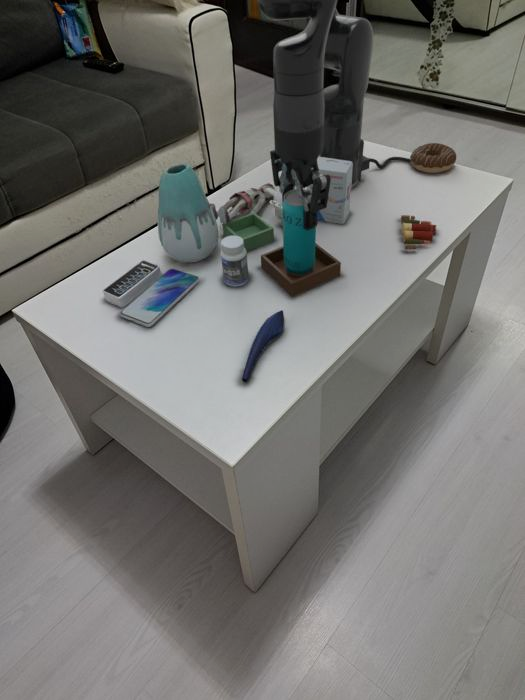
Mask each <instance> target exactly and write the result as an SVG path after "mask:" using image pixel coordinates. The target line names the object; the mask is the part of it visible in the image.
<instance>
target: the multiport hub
mask: <svg viewBox="0 0 525 700" xmlns="http://www.w3.org/2000/svg"><path fill="white" fill-rule="evenodd" d="M162 275H163V274H162V271H161V268H160V266H159V265H158V264H155V263H153V262H151V261H147V260H141V261H140V262H138V263H137V264H136V265H134V266H133V267H132V268H130V269H129V270H128V271H126V272H125V273H124V274H122V275H121V276H120V277H118V278H117V279H116V280H114V281H113V282H112V283H110V284H109V285H108V286H107V287H105V288H104V289H103V290H102V293H103V295H104V298H105V301H106V302H108V303H109V304H112V305H114V306H116V307H118V308H121V309H122V308H123V309H124V308H125V307H127V306H128V305H129V304H130V303H131V302H132V301H133V300H135V299H136V298H137V297H138V296H139V295H140V294H142V293H143V292H144V291H145V290H146V289H147V288H148V287H150V286H151V285H152V284H153V283H154V282H155V281H156V280H158V279H159V278H160V277H161V276H162Z"/></svg>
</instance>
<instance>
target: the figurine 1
mask: <svg viewBox="0 0 525 700" xmlns="http://www.w3.org/2000/svg"><path fill="white" fill-rule="evenodd" d="M275 187H276V186H275V185H274V184H272V183H270V182H268V183H265V184H263V185H261V186H259V188H256V187H254V188H253V187H249V188H248V190H240V191H238V192H234V194H232V195H231V196H230V197H229V200H228V201H227V202H225V204H223V205H221V206H220V207H219V208H218V209H217V208H216V205H215V203H211V202H209V204H210V206H211V208H212V210H213V213H214V216H215V219H216V221H217V220H218V218H219V222H220V223H221V224H227V223H229V222H230V221H232V220H233V218H235V217H237V215H238V214H241V215H242V214H244V213H245V212H247V211H249V212H248V214H251V213H256V214H258V212H259V211H260V210H261V209H262V208H263V206H264V205H265V203H266V201H271V200H273V199H274V196H272V195H271V194H270V193H268V192H267V191H266V188H272V189H274V190H276V189H275ZM253 205H255V206H254V207H253ZM252 207H253V208H252ZM250 209H251V211H250Z"/></svg>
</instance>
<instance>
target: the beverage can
mask: <svg viewBox="0 0 525 700" xmlns="http://www.w3.org/2000/svg"><path fill="white" fill-rule="evenodd" d="M303 190H304V191H306V190H307V188H303ZM308 201H309V203H310V202H311V195H309V196H308ZM303 210H304V207H303V203H302V199H301V198H300V197H299V196H298V193H297V189H294V190H290V191H288V192H287V193H285V195H284V201H283V203H282V218H283V226H282V244H283V245H282V246H283V248H284V265H285V267H286V269H287V271H288V272H289V273H290V274H291V275H293V276H305V275H307V274H309V273H310V272H311V270H312V268H313V266H314V264H315V243H316V234H317V233H316V229H317V228H316V227H317V226H316V227H315V228H313V229H310V230H305V229H304V227H303Z"/></svg>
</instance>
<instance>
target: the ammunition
mask: <svg viewBox="0 0 525 700" xmlns="http://www.w3.org/2000/svg"><path fill="white" fill-rule="evenodd" d="M400 220H401V233H402V241H403V244H404V250H417V249H418V245H428V244H429V245H430V244H431V243H432V241H433V238H434V235H435V234H436V231H437V224H432V222H431V221H428V220H418V219H416V216H415V215H411V216H410V215H406V214H401V216H400Z"/></svg>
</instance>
